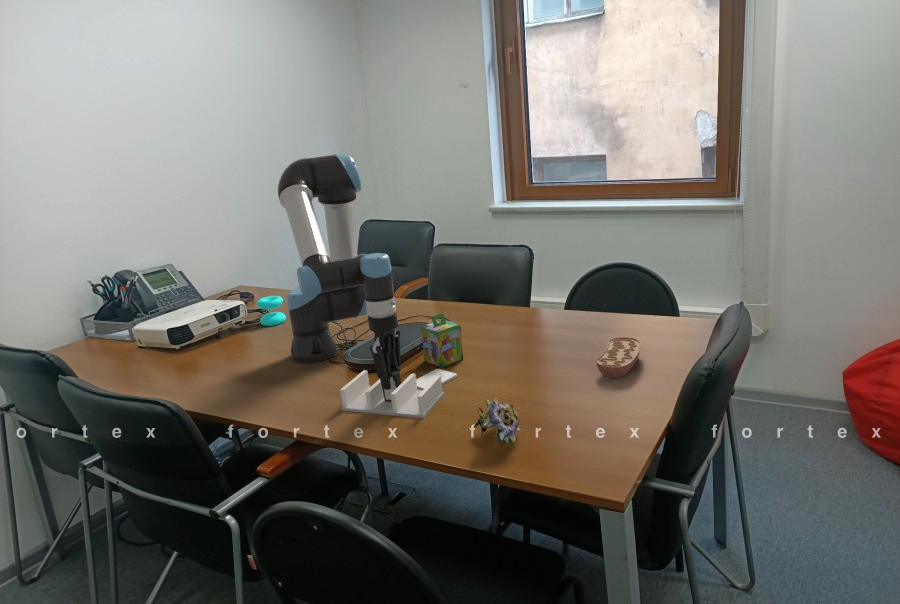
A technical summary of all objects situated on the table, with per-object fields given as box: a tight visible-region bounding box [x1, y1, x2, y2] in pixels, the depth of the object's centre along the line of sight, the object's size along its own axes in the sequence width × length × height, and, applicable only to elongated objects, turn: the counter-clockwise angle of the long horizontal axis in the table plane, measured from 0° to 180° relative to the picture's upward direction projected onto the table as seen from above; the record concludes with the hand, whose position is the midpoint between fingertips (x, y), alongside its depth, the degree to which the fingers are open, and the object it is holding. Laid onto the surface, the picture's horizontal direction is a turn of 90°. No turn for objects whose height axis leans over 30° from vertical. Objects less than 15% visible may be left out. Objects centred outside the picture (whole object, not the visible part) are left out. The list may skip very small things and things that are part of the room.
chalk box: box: [420, 312, 464, 368], centre depth 194 cm, size 9×9×15 cm
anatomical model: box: [596, 336, 641, 379], centre depth 179 cm, size 23×10×5 cm, turn 154°
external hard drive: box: [416, 368, 458, 390], centre depth 181 cm, size 2×8×12 cm
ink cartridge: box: [379, 371, 402, 401], centre depth 169 cm, size 5×2×8 cm, turn 68°
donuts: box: [256, 295, 287, 327], centre depth 249 cm, size 10×10×10 cm
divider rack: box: [339, 369, 445, 419], centre depth 170 cm, size 14×24×6 cm, turn 69°
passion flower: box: [473, 397, 521, 445], centre depth 146 cm, size 11×11×12 cm
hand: (392, 396), depth 170 cm, fingers closed on ink cartridge, 2 cm apart
